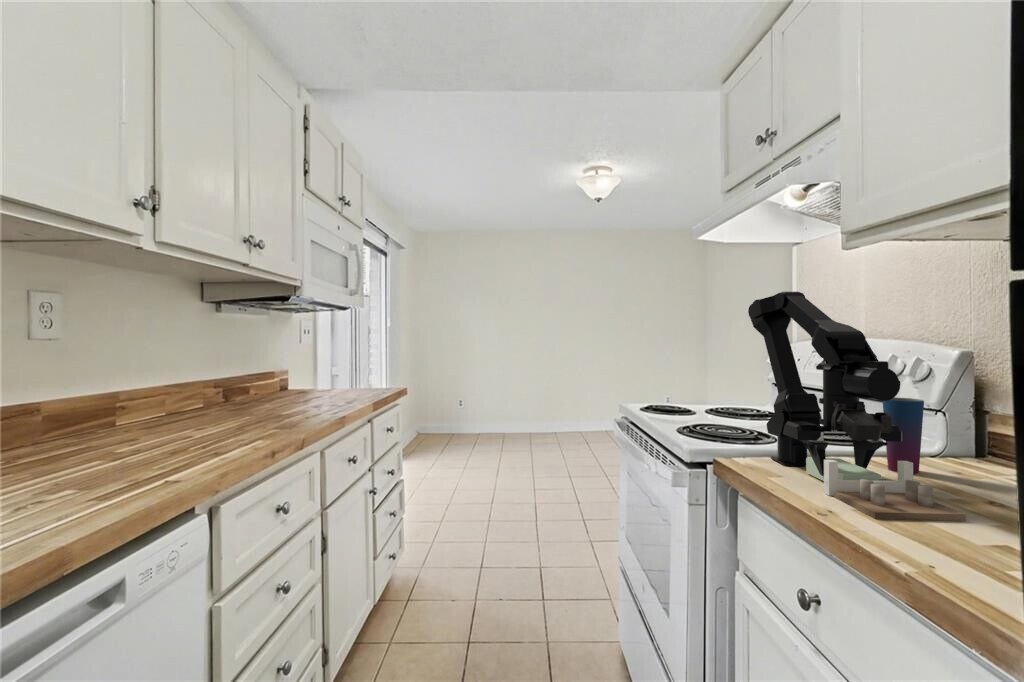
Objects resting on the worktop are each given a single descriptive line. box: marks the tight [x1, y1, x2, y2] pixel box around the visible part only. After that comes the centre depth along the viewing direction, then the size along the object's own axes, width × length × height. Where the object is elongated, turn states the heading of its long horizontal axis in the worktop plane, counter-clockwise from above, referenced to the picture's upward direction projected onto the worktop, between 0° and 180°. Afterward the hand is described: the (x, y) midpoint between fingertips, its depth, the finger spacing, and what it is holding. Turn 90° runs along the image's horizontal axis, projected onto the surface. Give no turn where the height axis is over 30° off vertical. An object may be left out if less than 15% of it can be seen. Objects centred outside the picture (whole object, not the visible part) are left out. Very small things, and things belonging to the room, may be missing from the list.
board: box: [805, 457, 882, 482], centre depth 90 cm, size 12×6×3 cm, turn 176°
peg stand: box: [834, 479, 967, 522], centre depth 76 cm, size 10×13×4 cm
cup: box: [881, 396, 925, 475], centre depth 99 cm, size 7×7×15 cm
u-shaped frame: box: [823, 460, 914, 497], centre depth 83 cm, size 2×14×6 cm, turn 86°
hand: (841, 475), depth 90 cm, fingers closed on board, 6 cm apart
